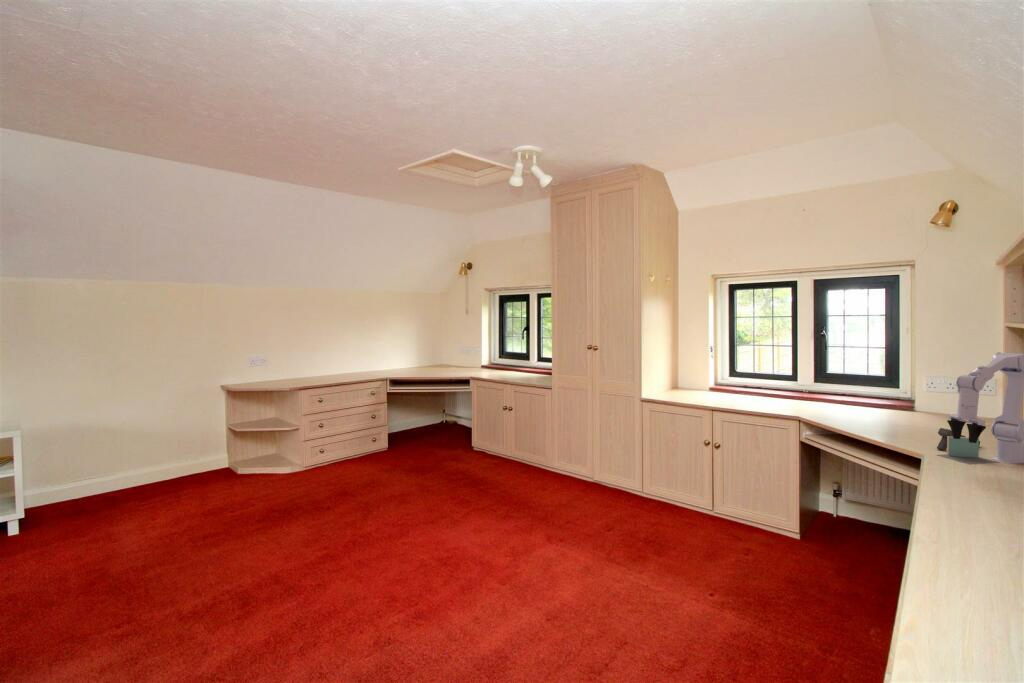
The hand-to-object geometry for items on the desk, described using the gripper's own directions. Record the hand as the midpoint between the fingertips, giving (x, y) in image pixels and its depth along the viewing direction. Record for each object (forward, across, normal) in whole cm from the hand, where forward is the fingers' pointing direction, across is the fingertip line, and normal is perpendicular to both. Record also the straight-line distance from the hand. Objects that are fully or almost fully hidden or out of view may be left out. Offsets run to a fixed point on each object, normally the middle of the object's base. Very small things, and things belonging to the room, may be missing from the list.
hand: (964, 440), depth 197 cm
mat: (+9, -12, +12) cm, 19 cm away
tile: (+9, -16, +12) cm, 22 cm away
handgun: (+8, -30, +22) cm, 38 cm away
